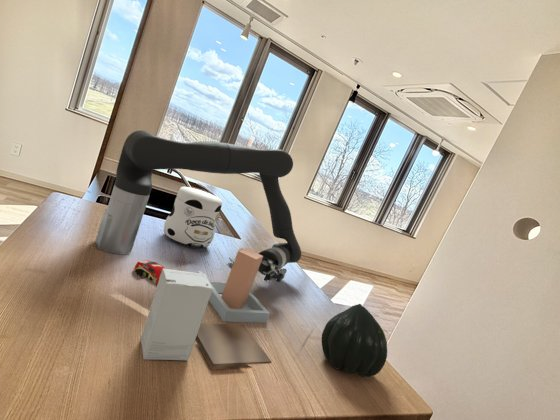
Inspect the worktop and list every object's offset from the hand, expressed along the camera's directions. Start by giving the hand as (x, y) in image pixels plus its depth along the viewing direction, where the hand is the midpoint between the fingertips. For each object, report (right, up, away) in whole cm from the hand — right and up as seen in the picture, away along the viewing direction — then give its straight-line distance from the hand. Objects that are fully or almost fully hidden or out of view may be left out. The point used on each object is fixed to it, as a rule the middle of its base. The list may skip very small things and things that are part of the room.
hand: (252, 270), depth 97 cm
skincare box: (-14, -9, -31) cm, 36 cm away
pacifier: (-7, -3, +27) cm, 28 cm away
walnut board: (-3, -12, -22) cm, 26 cm away
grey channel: (-6, -8, -3) cm, 11 cm away
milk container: (-26, +5, +31) cm, 41 cm away
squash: (+22, -20, -12) cm, 32 cm away
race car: (-24, -2, -6) cm, 25 cm away
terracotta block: (-5, -8, -5) cm, 10 cm away
